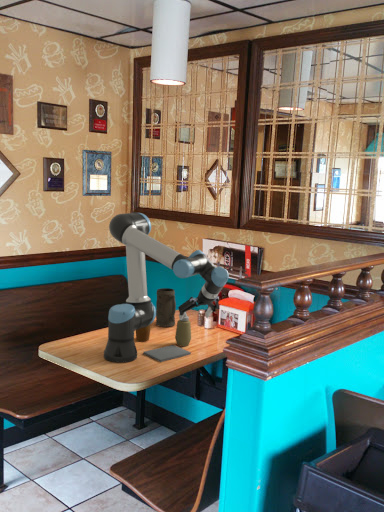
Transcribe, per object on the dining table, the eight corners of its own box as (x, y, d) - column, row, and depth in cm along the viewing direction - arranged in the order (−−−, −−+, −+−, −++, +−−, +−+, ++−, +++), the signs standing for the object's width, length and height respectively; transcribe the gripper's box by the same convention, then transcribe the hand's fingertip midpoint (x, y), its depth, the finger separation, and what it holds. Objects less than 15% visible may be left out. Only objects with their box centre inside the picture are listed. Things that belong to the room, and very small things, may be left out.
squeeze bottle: (189, 348, 258) (190, 312, 255) (172, 346, 259) (174, 310, 257) (192, 343, 266) (194, 308, 263) (176, 341, 267) (178, 306, 264)
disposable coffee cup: (143, 344, 260) (144, 320, 258) (129, 339, 266) (129, 316, 264) (156, 339, 268) (156, 316, 266) (142, 335, 273) (142, 313, 272)
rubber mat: (160, 362, 237) (160, 359, 237) (143, 353, 247) (143, 351, 247) (190, 354, 249) (190, 352, 249) (172, 346, 259) (172, 344, 259)
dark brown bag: (151, 323, 295) (152, 288, 292) (165, 320, 302) (167, 286, 299) (168, 330, 284) (170, 294, 281) (183, 327, 291) (185, 292, 288)
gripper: (185, 301, 228) (170, 325, 243) (236, 298, 238) (219, 321, 254) (181, 286, 232) (167, 311, 247) (231, 284, 242) (215, 307, 258)
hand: (193, 316), depth 251 cm, fingers open, 13 cm apart
